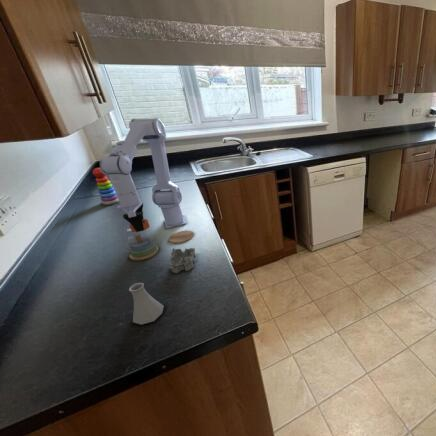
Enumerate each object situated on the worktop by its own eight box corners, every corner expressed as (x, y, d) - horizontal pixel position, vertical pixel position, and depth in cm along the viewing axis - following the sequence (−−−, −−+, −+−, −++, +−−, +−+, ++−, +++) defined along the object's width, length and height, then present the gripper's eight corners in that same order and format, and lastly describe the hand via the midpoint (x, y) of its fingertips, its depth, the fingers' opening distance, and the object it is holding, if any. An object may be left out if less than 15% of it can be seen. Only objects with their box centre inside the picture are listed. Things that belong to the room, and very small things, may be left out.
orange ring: (132, 227, 97) (130, 221, 96) (149, 223, 100) (147, 217, 99) (131, 233, 93) (129, 228, 92) (149, 229, 96) (147, 223, 95)
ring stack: (130, 251, 101) (122, 233, 98) (158, 243, 105) (151, 226, 102) (129, 263, 94) (121, 245, 91) (159, 255, 98) (152, 237, 95)
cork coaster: (168, 235, 111) (168, 234, 111) (192, 229, 115) (191, 228, 115) (170, 245, 104) (169, 244, 104) (195, 238, 108) (194, 238, 108)
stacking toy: (99, 206, 138) (83, 171, 129) (106, 200, 145) (91, 166, 136) (117, 204, 140) (102, 169, 131) (122, 198, 147) (109, 164, 138)
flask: (168, 304, 77) (157, 276, 72) (155, 324, 71) (142, 296, 66) (143, 305, 77) (130, 277, 72) (127, 325, 70) (112, 297, 66)
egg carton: (175, 256, 98) (172, 247, 96) (198, 253, 99) (195, 243, 97) (168, 275, 88) (165, 265, 86) (193, 270, 90) (190, 260, 88)
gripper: (113, 187, 94) (128, 221, 100) (109, 202, 83) (126, 239, 89) (137, 183, 97) (149, 217, 103) (136, 197, 86) (150, 233, 92)
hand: (140, 227), depth 96 cm, fingers closed on orange ring, 5 cm apart
